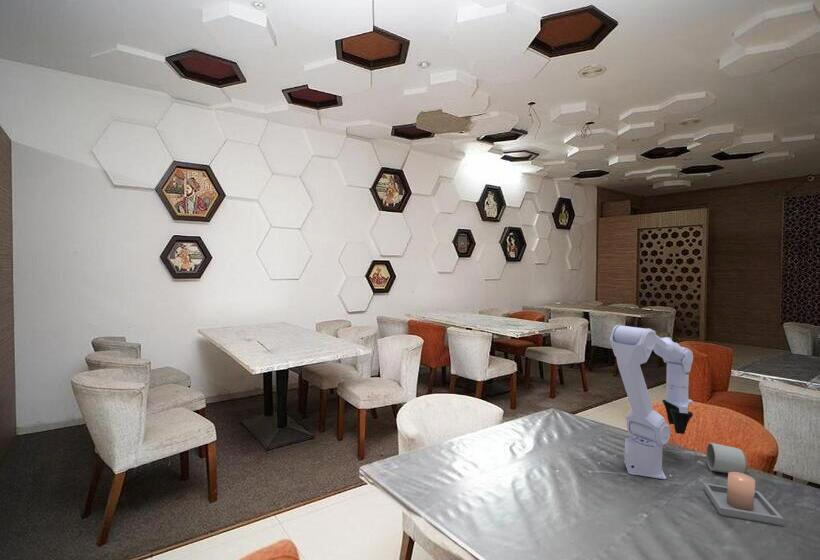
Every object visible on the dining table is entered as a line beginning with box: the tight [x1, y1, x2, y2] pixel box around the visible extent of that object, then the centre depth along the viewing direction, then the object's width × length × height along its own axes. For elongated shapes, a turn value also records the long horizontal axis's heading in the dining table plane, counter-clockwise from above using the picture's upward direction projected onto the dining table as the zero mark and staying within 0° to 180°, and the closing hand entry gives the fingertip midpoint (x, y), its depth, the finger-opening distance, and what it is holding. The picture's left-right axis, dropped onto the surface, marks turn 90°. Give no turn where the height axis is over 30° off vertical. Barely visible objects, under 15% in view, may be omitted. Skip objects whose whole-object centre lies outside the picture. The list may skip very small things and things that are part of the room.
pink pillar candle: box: [727, 472, 756, 511], centre depth 100 cm, size 5×5×7 cm
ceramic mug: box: [705, 442, 748, 474], centre depth 119 cm, size 11×8×8 cm
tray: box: [702, 482, 785, 527], centre depth 100 cm, size 12×12×2 cm
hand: (676, 428), depth 125 cm, fingers open, 7 cm apart
